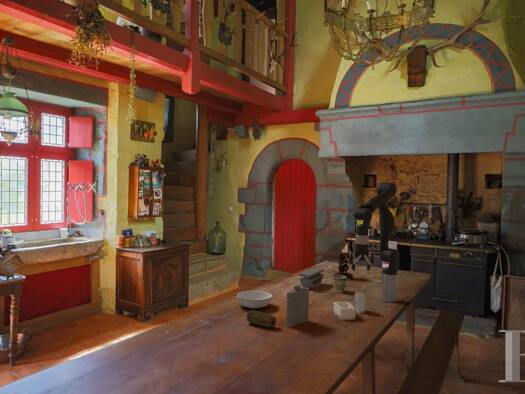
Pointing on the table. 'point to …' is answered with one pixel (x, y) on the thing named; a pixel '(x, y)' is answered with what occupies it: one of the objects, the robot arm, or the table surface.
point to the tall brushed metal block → (359, 302)
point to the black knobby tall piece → (343, 267)
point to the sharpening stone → (311, 278)
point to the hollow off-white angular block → (344, 310)
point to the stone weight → (261, 319)
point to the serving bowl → (254, 299)
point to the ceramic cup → (339, 283)
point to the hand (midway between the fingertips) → (360, 270)
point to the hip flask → (297, 306)
